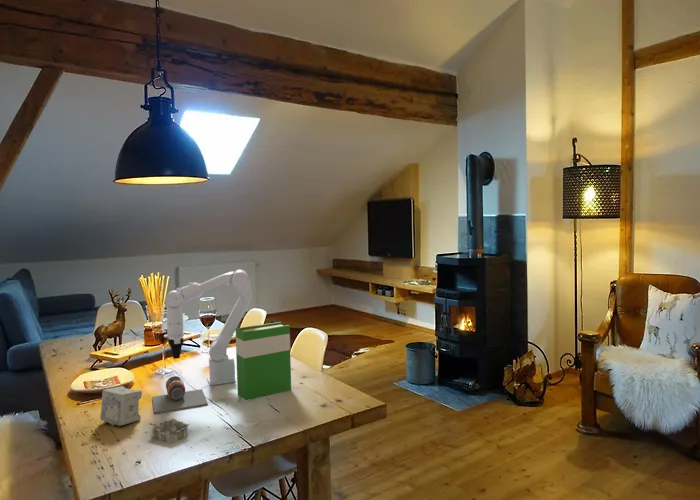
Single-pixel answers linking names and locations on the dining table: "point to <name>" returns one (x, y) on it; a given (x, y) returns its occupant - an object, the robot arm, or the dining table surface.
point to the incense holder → (120, 405)
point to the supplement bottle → (175, 387)
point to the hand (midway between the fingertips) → (176, 358)
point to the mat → (179, 402)
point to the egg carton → (170, 430)
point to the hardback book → (263, 360)
